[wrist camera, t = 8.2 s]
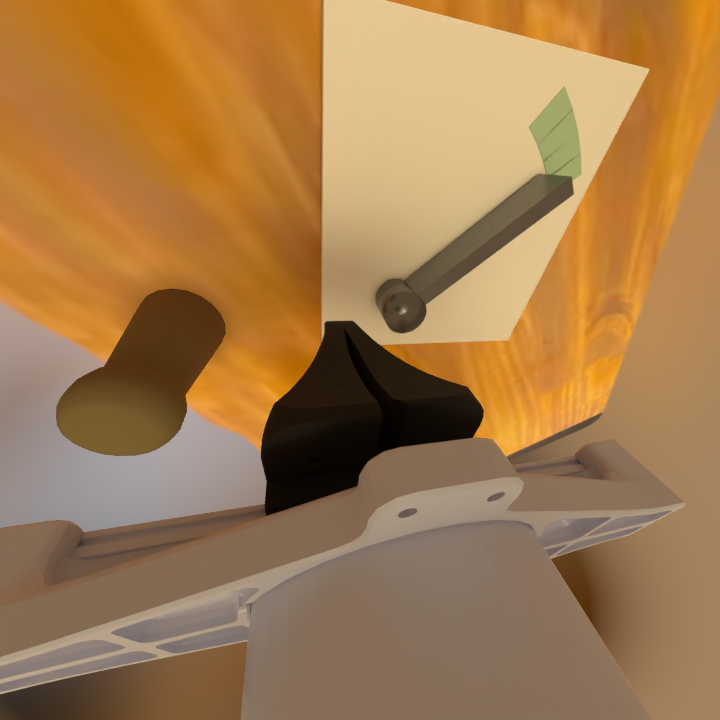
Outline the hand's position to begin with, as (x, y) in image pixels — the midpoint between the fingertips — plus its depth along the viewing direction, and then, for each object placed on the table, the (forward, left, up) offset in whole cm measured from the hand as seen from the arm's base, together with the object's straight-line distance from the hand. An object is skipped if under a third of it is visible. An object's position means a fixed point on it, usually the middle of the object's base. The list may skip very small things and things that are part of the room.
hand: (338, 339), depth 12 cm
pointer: (+2, -10, -9) cm, 14 cm away
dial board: (+3, -10, -10) cm, 15 cm away
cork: (-5, +11, -11) cm, 16 cm away
